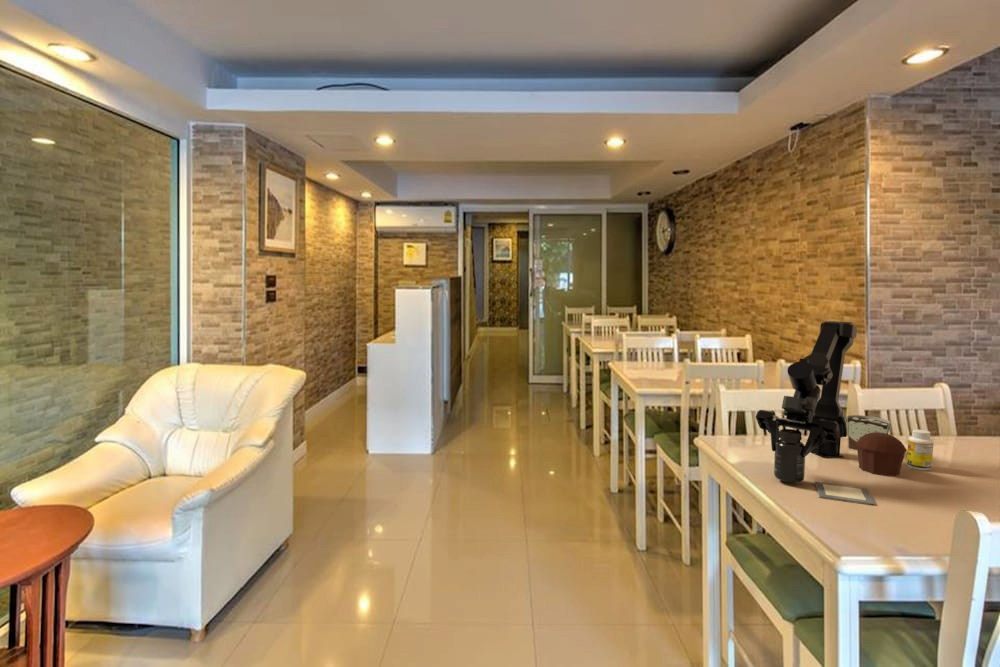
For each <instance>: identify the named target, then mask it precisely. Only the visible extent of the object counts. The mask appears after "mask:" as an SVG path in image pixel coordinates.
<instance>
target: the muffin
mask: <svg viewBox="0 0 1000 667" xmlns="http://www.w3.org/2000/svg"><path fill="white" fill-rule="evenodd" d="M856 446H857V459H858V468H859V469H860V468H861V469H860V470H862V471H863V472H865V471H866V473H869V474H871V475H878V476H884V477H895V476H897V475H899V474H900V472H901V467H902V465H903V461H904V457H905V454H906V453H907V451H908V449H907V448H906V446H905V445H904V443H903V442H902V441H901V440H900V439H898V438H896V436H894V435H892V434H890V433H888V434H886V433H880V432H873V433H868V434H866V435H864V436H862V437H861V438H860V439H859V440H858V441H857V442H856Z"/></svg>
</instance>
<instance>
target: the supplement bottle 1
mask: <svg viewBox="0 0 1000 667" xmlns="http://www.w3.org/2000/svg"><path fill="white" fill-rule="evenodd" d="M779 430H780V438H779V440H778V441H777V442H776V443H775V451H774V464H773V465H774V466H773V475H774V477H775V478H776V479H778V480H779V481H783V482H787V483H800V482H803V481H804V480H805V469H806V457H802V453H803V449H804V446H805V444H804V443H803V442H802V438H803V437H802V431H800V430H799V429H794V428H783V429H779Z"/></svg>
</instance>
